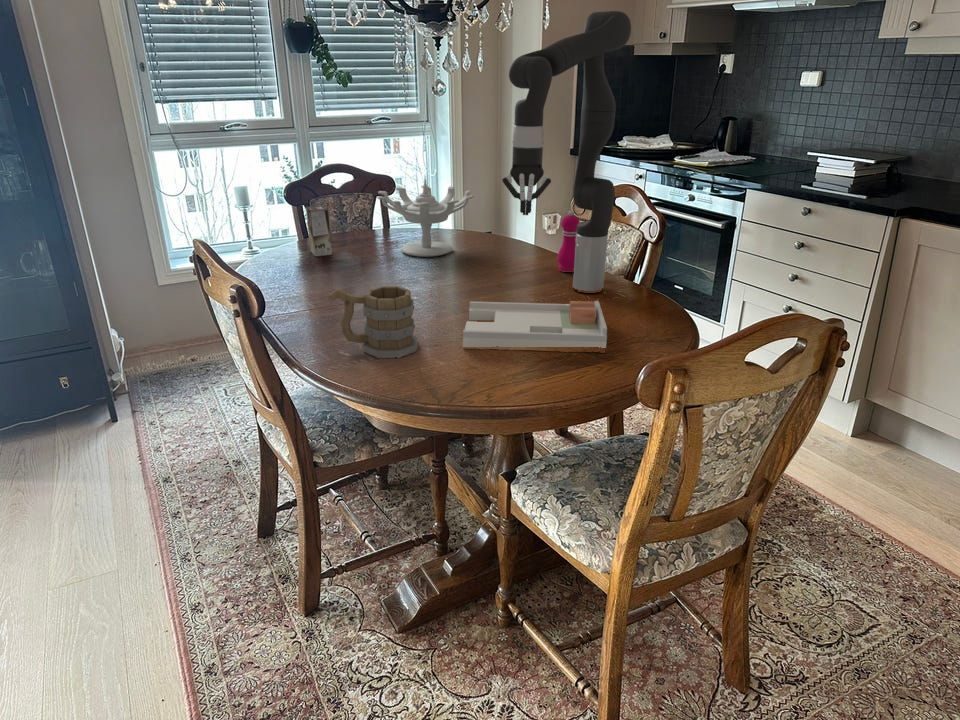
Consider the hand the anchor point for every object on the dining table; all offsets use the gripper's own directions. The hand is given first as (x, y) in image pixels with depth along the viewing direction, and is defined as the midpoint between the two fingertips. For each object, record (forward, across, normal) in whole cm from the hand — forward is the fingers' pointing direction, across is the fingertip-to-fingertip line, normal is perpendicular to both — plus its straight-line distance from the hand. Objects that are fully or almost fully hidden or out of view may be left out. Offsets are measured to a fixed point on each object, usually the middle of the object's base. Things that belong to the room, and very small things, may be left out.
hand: (525, 214), depth 170 cm
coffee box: (+27, +73, -57) cm, 97 cm away
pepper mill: (+27, -15, -42) cm, 52 cm away
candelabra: (+27, +35, -62) cm, 76 cm away
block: (+24, -15, +13) cm, 31 cm away
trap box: (+27, -3, +16) cm, 32 cm away
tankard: (+27, +35, +28) cm, 52 cm away
